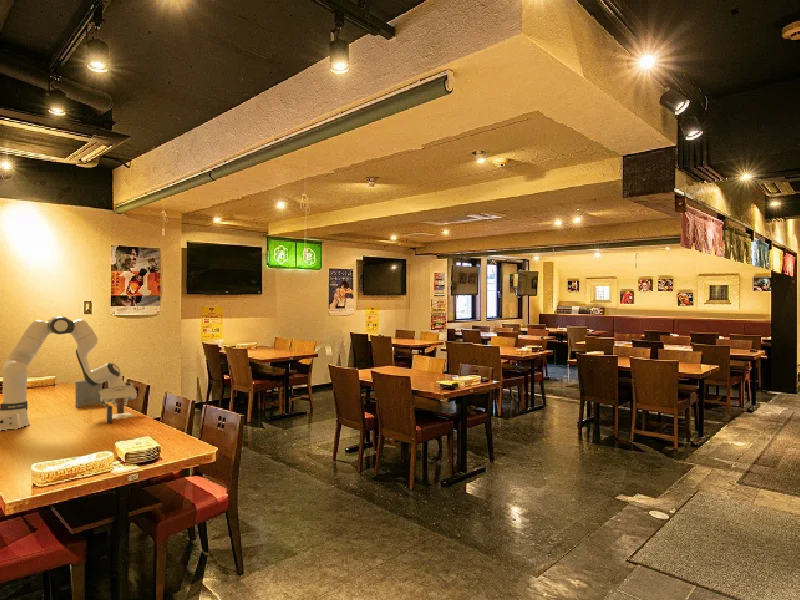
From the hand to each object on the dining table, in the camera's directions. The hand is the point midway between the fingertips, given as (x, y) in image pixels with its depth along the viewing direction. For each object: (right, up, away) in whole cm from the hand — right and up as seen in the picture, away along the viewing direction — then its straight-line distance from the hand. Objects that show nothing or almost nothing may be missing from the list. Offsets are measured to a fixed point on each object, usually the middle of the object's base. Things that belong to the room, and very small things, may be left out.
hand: (120, 405), depth 320 cm
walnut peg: (0, -5, 0) cm, 5 cm away
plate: (0, -7, 0) cm, 7 cm away
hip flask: (-42, -8, +36) cm, 56 cm away
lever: (-4, -7, -10) cm, 13 cm away
